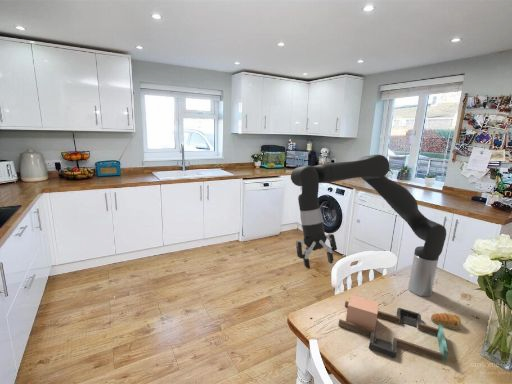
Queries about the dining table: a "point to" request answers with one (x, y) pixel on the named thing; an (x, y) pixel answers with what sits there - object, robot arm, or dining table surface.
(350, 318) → the block
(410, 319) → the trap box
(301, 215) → the robot arm
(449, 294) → the dining table surface
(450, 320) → the pastry
